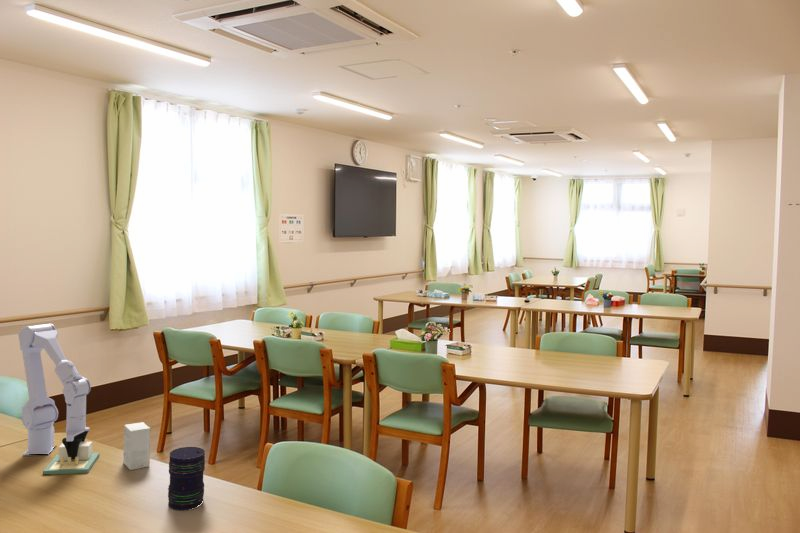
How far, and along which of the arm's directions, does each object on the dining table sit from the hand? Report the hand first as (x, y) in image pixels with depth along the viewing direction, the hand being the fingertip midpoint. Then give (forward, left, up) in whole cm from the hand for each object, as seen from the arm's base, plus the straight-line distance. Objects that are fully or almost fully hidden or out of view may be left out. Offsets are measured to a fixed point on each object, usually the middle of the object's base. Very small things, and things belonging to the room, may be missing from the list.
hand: (75, 455), depth 204 cm
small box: (+5, +20, -2) cm, 21 cm away
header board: (+3, 0, -2) cm, 4 cm away
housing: (0, 0, -1) cm, 1 cm away
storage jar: (+37, +39, -2) cm, 54 cm away
